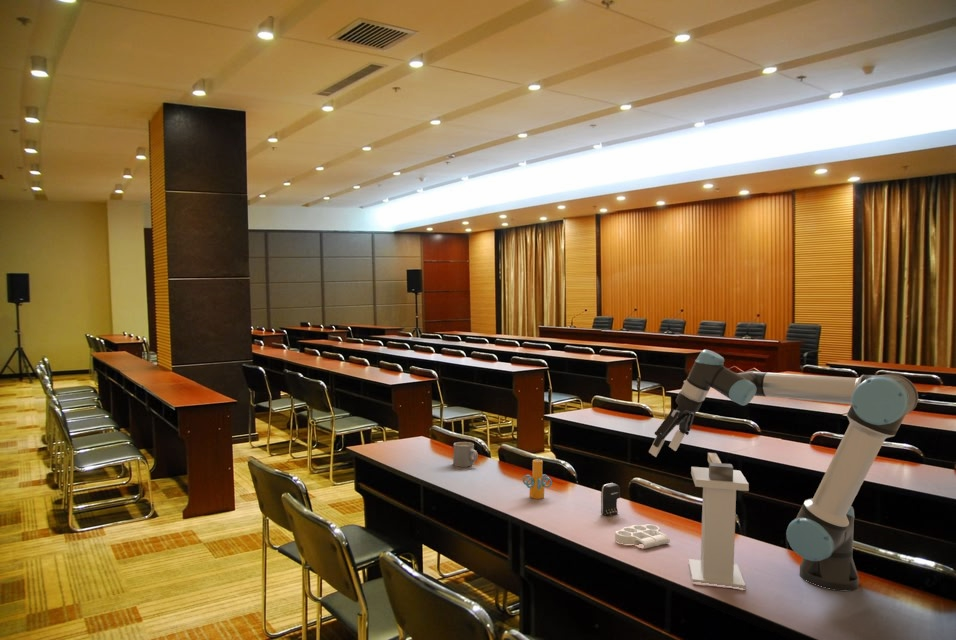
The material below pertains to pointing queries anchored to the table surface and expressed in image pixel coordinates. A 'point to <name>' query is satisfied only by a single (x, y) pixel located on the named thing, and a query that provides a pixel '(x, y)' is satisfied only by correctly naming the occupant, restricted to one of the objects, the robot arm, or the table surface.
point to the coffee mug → (464, 454)
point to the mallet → (719, 469)
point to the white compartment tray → (642, 535)
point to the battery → (609, 499)
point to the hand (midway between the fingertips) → (662, 451)
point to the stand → (717, 530)
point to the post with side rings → (537, 480)
